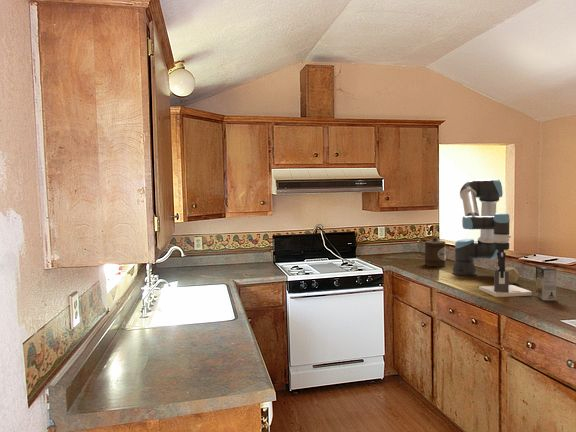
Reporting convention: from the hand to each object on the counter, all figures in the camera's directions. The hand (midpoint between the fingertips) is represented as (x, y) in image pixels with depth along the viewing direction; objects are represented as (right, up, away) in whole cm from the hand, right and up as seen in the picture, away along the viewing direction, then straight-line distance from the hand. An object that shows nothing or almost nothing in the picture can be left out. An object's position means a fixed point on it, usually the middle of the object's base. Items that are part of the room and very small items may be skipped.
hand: (501, 281), depth 215 cm
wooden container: (-3, -3, +89) cm, 89 cm away
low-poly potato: (+16, -6, +25) cm, 30 cm away
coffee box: (+18, -8, -9) cm, 22 cm away
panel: (+4, -7, +4) cm, 9 cm away
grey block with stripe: (0, -5, 0) cm, 5 cm away
